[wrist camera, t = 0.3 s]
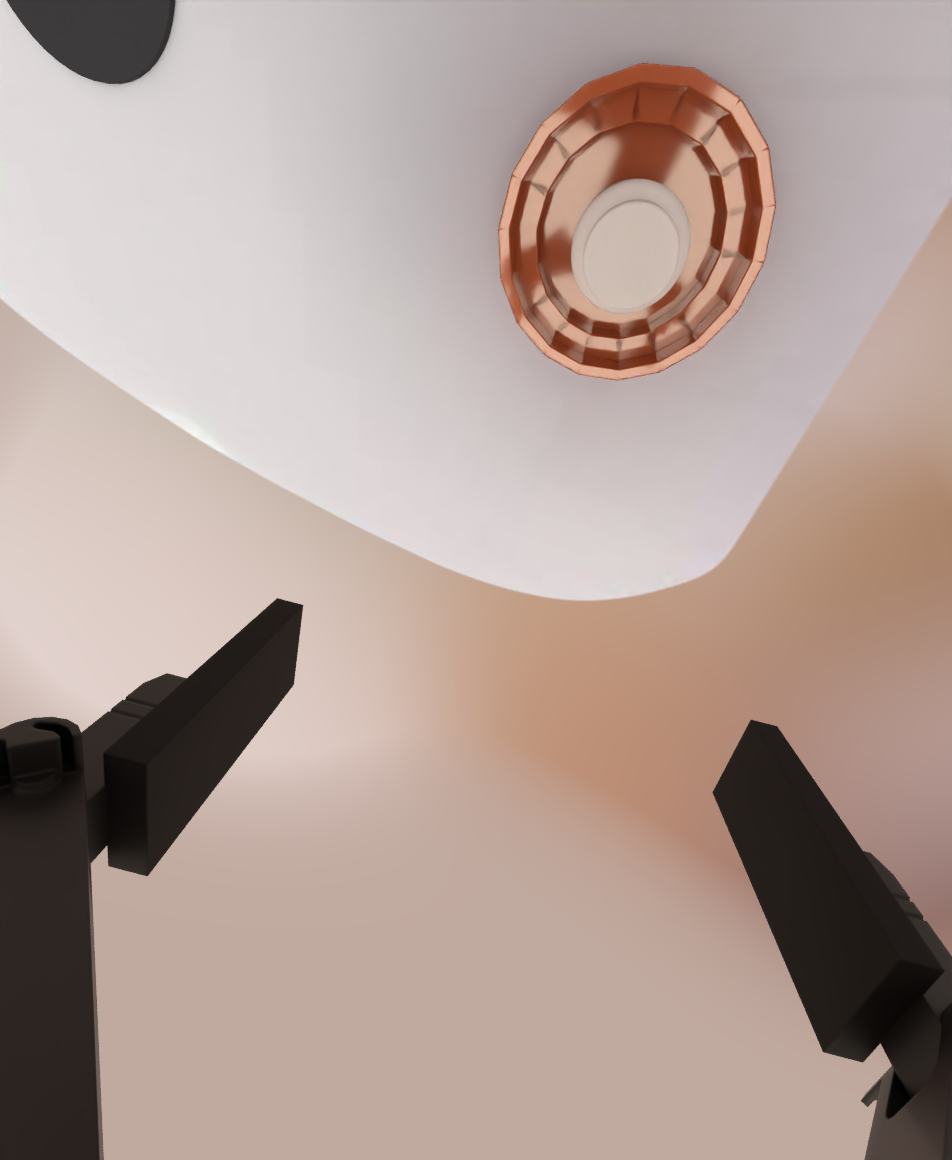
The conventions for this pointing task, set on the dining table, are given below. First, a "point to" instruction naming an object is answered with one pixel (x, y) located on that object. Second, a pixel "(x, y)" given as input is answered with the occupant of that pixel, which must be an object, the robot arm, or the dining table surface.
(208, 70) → the dining table surface
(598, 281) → the supplement bottle
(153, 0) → the coaster
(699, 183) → the bowl
